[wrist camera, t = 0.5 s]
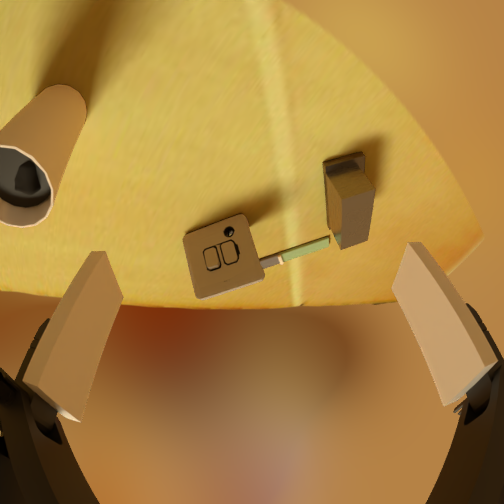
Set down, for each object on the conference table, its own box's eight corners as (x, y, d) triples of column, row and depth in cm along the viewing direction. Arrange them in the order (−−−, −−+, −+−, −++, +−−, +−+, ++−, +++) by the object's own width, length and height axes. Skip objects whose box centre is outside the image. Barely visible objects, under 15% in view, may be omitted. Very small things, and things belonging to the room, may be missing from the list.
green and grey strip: (222, 271, 42) (223, 275, 42) (327, 236, 41) (329, 239, 40) (227, 278, 44) (228, 282, 44) (328, 244, 43) (329, 248, 42)
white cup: (94, 77, 15) (46, 139, 10) (91, 145, 20) (62, 228, 14) (25, 83, 12) (-40, 150, 7) (30, 147, 17) (-12, 227, 12)
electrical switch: (244, 210, 32) (262, 272, 28) (253, 229, 36) (270, 286, 32) (180, 234, 33) (189, 296, 29) (196, 249, 37) (206, 306, 33)
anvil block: (322, 162, 28) (341, 193, 26) (361, 151, 28) (384, 180, 25) (327, 225, 38) (340, 253, 35) (358, 215, 38) (373, 242, 35)
